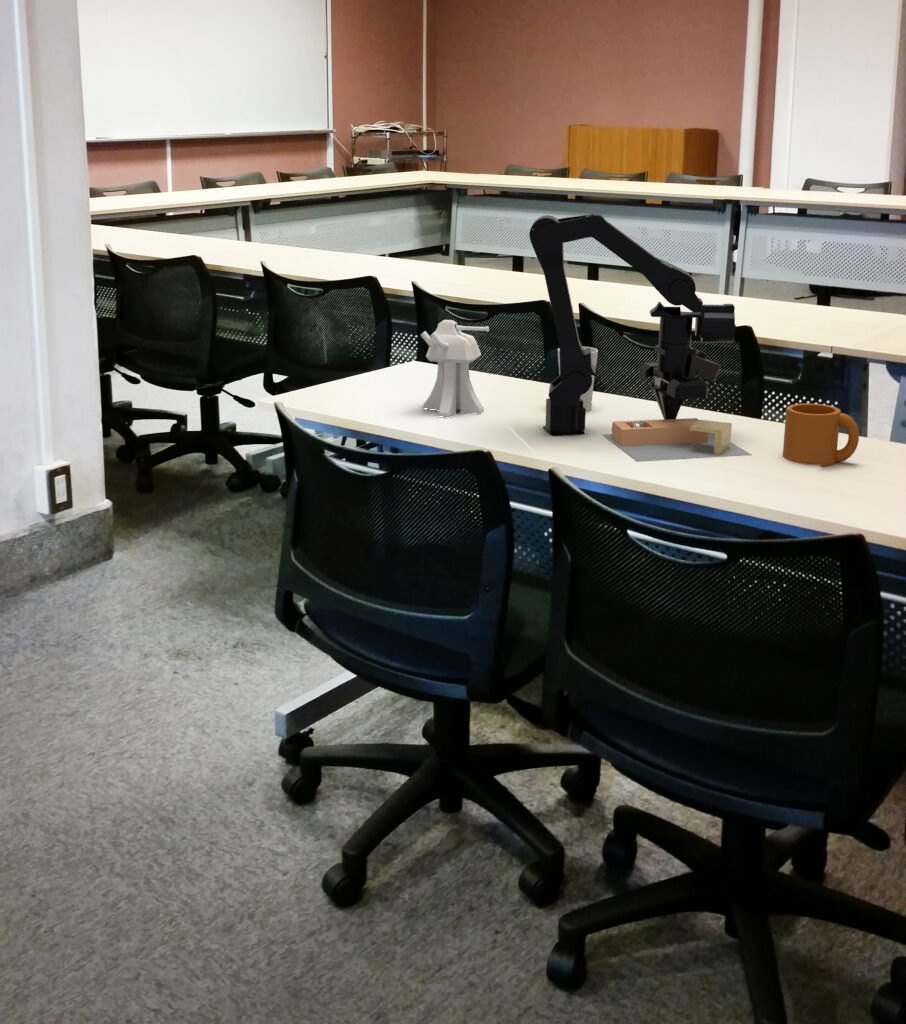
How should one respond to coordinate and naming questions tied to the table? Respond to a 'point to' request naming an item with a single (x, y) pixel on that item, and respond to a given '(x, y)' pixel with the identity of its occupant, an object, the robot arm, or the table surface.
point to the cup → (588, 395)
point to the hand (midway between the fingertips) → (669, 425)
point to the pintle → (637, 425)
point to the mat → (676, 450)
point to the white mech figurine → (453, 369)
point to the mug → (817, 434)
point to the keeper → (716, 433)
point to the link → (657, 432)
